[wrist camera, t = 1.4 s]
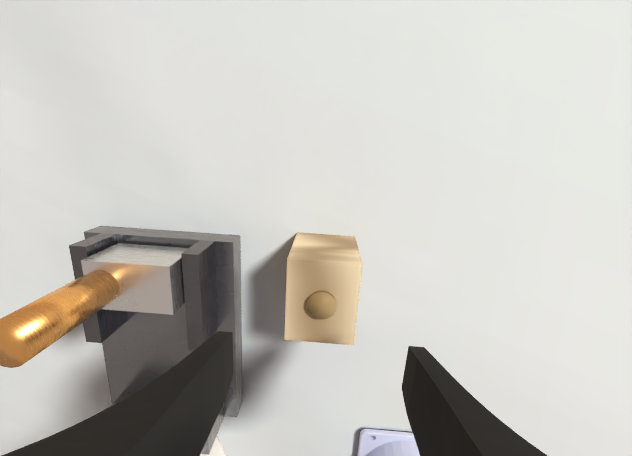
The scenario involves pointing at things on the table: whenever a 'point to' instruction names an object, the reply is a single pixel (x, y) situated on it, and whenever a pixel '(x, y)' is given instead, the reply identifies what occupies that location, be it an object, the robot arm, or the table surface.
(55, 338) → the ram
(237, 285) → the press frame
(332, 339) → the light wooden block
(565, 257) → the table surface
